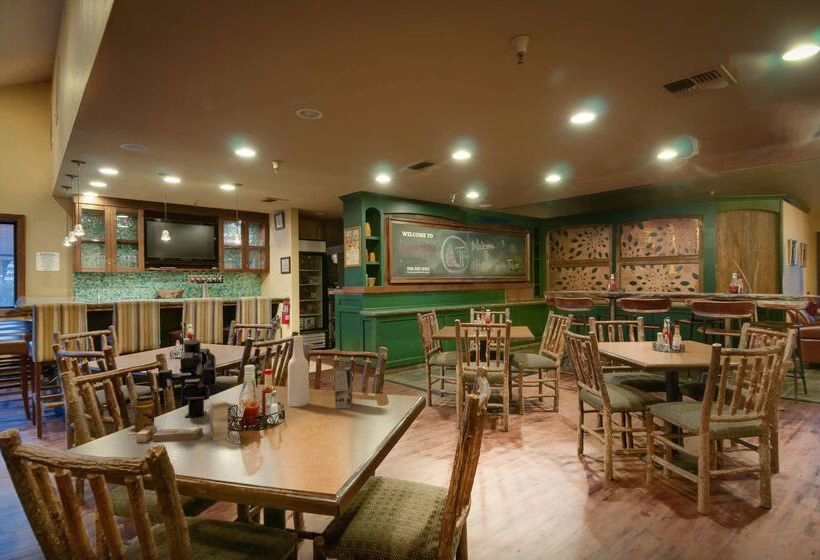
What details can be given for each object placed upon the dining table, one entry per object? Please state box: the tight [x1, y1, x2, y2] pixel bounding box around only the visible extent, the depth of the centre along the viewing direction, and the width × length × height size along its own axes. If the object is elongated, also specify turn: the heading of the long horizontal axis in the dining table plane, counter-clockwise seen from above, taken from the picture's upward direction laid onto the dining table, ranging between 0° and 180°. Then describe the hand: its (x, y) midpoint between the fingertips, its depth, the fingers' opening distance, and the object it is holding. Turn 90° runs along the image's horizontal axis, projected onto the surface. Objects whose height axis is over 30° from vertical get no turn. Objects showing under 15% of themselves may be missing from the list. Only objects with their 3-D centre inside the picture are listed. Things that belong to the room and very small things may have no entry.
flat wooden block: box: [152, 426, 204, 442], centre depth 151 cm, size 6×14×2 cm, turn 98°
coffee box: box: [334, 366, 353, 409], centre depth 191 cm, size 9×6×16 cm
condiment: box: [127, 394, 156, 435], centre depth 159 cm, size 7×8×12 cm
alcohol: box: [287, 335, 310, 408], centre depth 193 cm, size 9×9×30 cm
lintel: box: [135, 425, 157, 443], centre depth 151 cm, size 8×3×3 cm, turn 8°
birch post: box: [209, 399, 229, 441], centre depth 151 cm, size 4×4×12 cm
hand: (183, 387), depth 154 cm, fingers open, 9 cm apart
